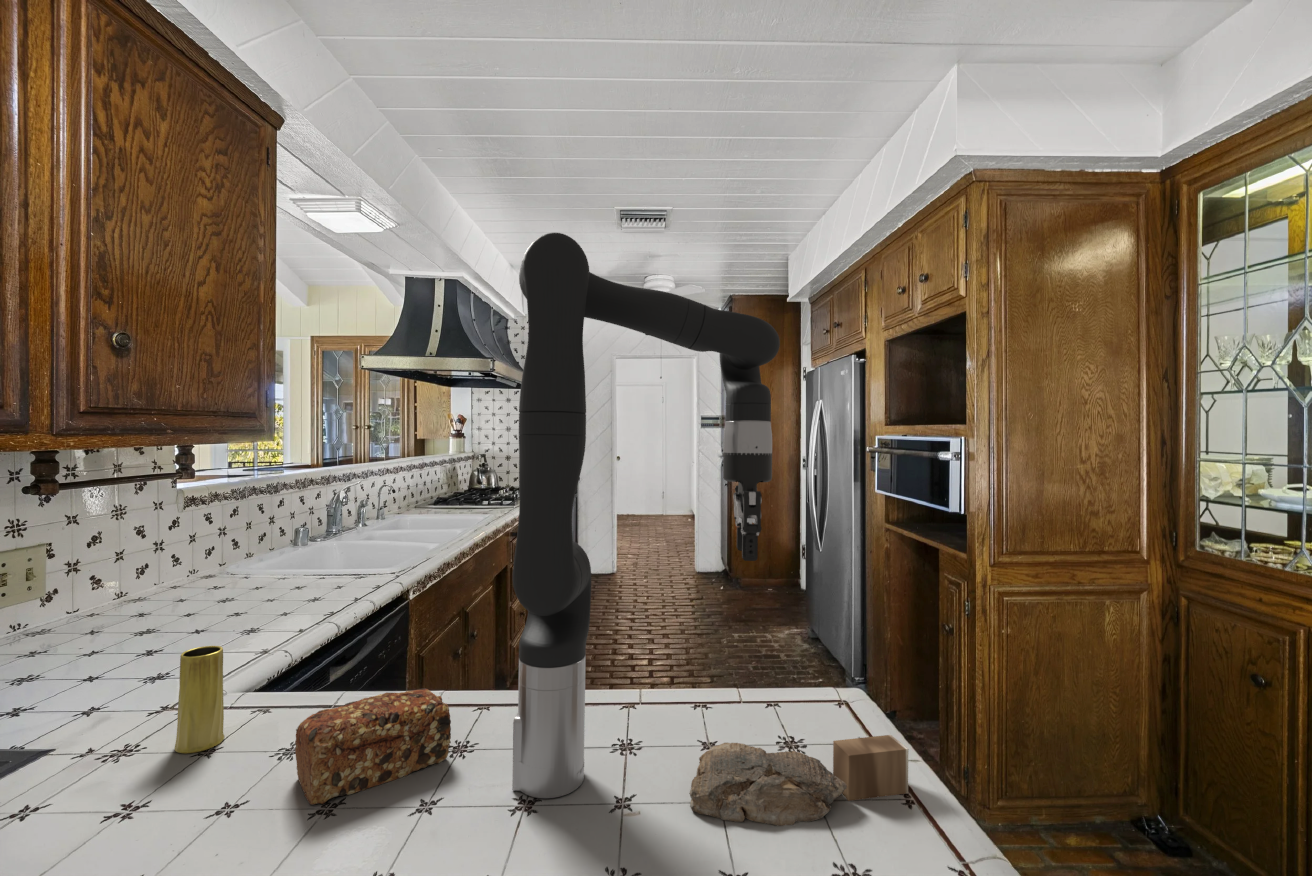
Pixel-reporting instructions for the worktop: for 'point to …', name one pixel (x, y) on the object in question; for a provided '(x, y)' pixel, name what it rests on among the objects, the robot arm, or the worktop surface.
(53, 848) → the worktop surface
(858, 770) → the walnut block
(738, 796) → the clay tablet
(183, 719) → the vase
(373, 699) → the bread
